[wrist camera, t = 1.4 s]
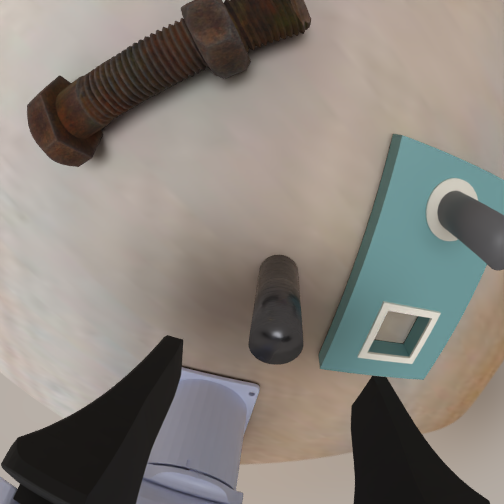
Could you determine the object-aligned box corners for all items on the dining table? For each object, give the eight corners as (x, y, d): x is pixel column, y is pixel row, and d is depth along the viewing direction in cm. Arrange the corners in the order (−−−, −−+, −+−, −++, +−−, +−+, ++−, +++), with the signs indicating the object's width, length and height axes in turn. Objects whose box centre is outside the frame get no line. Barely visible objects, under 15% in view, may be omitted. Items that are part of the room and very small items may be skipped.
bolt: (300, 35, 16) (92, 134, 19) (271, -35, 12) (51, 81, 15) (334, 59, 12) (66, 185, 15) (300, -39, 8) (10, 122, 11)
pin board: (418, 367, 22) (443, 432, 16) (318, 354, 22) (325, 430, 16) (502, 180, 16) (570, 212, 9) (393, 133, 16) (452, 145, 9)
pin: (292, 292, 20) (294, 368, 14) (256, 284, 20) (244, 358, 14) (302, 259, 19) (310, 329, 13) (264, 251, 19) (254, 318, 13)
